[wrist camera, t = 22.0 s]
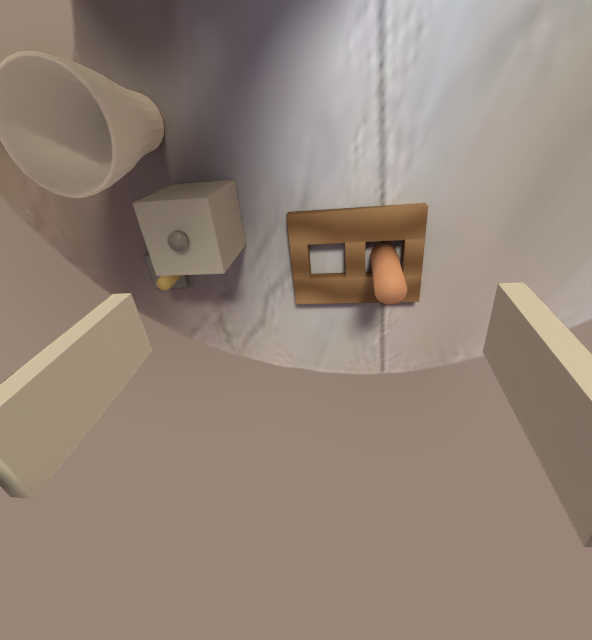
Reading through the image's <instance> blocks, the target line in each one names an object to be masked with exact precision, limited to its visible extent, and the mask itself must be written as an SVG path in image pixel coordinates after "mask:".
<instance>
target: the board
mask: <svg viewBox="0 0 592 640" xmlns="http://www.w3.org/2000/svg"><path fill="white" fill-rule="evenodd" d="M427 212H428V206H427V204H426V203H420V204H405V205H389V206H374V207H358V208H343V209H328V210H312V211H297V212H288V213H287V215H286V218H287V227H288V236H289V245H290V254H291V263H292V272H293V281H294V290H295V298H296V304H326V303H377V302H380V301H379V300H378V299H377V298H376V296H375V291H374V282H373V273H372V272H365V242H372V241H392V240H403V256H402V271H403V275H404V278H405V282H406V285H407V294H406V296H405V298H404V299H403V300H402V301H400V302H419V297H420V286H421V276H422V265H423V255H424V244H425V233H426V223H427ZM330 243H345V262H346V273H325V274H311V265H310V253H309V245H310V244H330Z"/></svg>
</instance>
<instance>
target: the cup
mask: <svg viewBox="0 0 592 640" xmlns="http://www.w3.org/2000/svg"><path fill="white" fill-rule="evenodd" d="M163 136H164V124H163V119H162V116H161V114H160V111H159V110H158V108H157V107H156V105H155V104H154V103H153V102H152V101H151V100H150V99H149V98H148V97H147V96H145V95H143V94H142V93H138V92H135V91H131V90H128V89H126V88H124V87H122V86H120V85H118V84H116V83H114V82H112V81H111V80H109V79H108V78H106V77H105V76H103V75H101V74H100V73H97V72H95V71H93V70H91V69H89V68H87V67H85V66H82V65H80V64H78V63H76V62H72V61H69V60H66V59H63V58H59V57H56V56H52V55H49V54H45V53H41V52H38V51H20V52H18V53H15V54H13V55H11V56H8V57H6V58H5V59H4V60H3V62H2V63H1V64H0V141H1V142H2V144H3V145H4V147H5V149H6V150H7V152H8V154H9V155H10V157H11V158H12V159H13V161H14V162H15V163H16V164H17V165H18V166H19V168H20V169H21V170H22V171H23V172H24V173H25V174H26V175H27V176H29V177H30V178H31V179H32V180H33V181H35V182H36V183H37V184H38V185H40V186H42V187H44V188H46V189H47V190H49V191H51V192H53V193H55V194H58V195H62V196H65V197H68V198H85V197H88V196H92V195H95V194H97V193H99V192H101V191H103V190H105V189H107V188H109V187H110V186H112V185H113V184H114V183H116V182H117V181H118V180H120V179H121V178H122V177H123V176H124V175H126V174H127V173H128V172H129V171H130V170H132V169H133V168H134V166H135V165H136V164H137V163H138V161H139V160H140V159H141V158H142V157H143V156H144V155H146V154H147V153H149V152H151V151H153V150H155V149H156V148H157V147H158V146H159V145H160V143H161V142H162V139H163Z"/></svg>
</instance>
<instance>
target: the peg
mask: <svg viewBox="0 0 592 640" xmlns="http://www.w3.org/2000/svg"><path fill="white" fill-rule="evenodd" d="M371 264H372V273H373V282H374V291H375V296H376V298H377V299H378V300H379V301H380V302H381V303H384V304H387V305H392V304H396V303H399V302H400V301H402V300H403V299H404V298H405V296H406V294H407V285H406V282H405V278H404V275H403V271H402V268H401V265H400V261H399V258H398V254H397V251H396V248H395V247H394V246H393V245H392V244H390V243H387V242H383V243H379V244H377V245H376V246H374V248H373V249H372V251H371Z"/></svg>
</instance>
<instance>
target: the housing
mask: <svg viewBox="0 0 592 640" xmlns="http://www.w3.org/2000/svg"><path fill="white" fill-rule="evenodd" d="M132 204H133V207H134V210H135V213H136V216H137V219H138V222H139V225H140V228H141V231H142V234H143V237H144V240H145V243H146V246H147V249H148V252H149V255H150V258H151V261H152V264H153V267H154V270H155V273H156V276H171V275H199V274H224V273H225V272H226V271H227V269H228V268H229V267H230V265H231V264H232V263H233V261H234V260H235V259H236V257H237V256H238V255H239V253H240V252H241V251H242V249H243V248H244V247H245V245H246V241H245V235H244V230H243V224H242V218H241V213H240V207H239V202H238V196H237V190H236V185H235V179H234V180H222V181H210V182H198V183H186V184H174V185H170V186H168V187H166V188H164V189H162V190H159V191H157V192H155V193H153V194H151V195H149V196H146V197H144V198H142V199H140V200H138V201H136V202H133V203H132Z"/></svg>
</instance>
